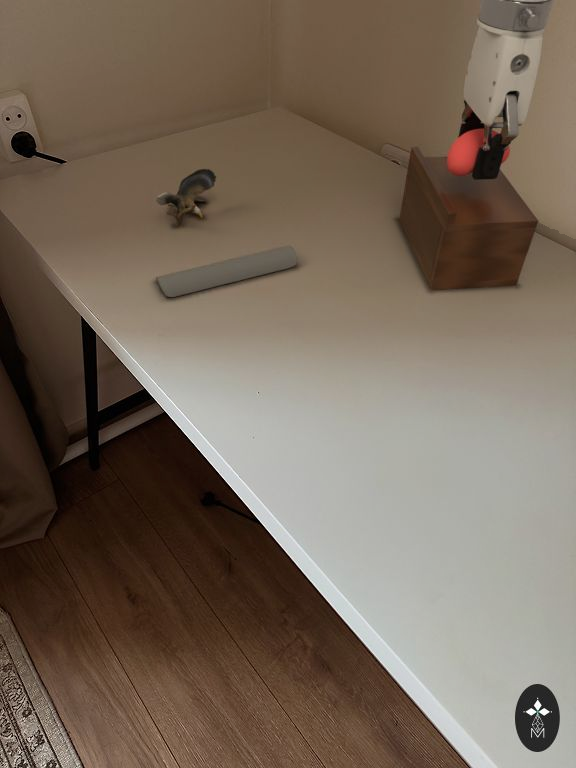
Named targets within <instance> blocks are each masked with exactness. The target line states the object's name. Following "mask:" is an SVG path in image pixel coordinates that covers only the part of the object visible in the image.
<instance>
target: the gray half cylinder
mask: <svg viewBox="0 0 576 768" xmlns="http://www.w3.org/2000/svg"><path fill="white" fill-rule="evenodd" d="M297 263H298V255H297V252H296V249H295V248H294V246H293V245H285V246H281V247H276V248H272V249H268V250H264V251H263V250H262V251H259V252H256V253H255V252H254V253H251V254H247V255H242V256H239V257H234V258H231V259H230V258H229V259H226V260H222V261H218V262H213V263H209V264H206V265H201V266H197V267H192V268H189V269H185V270H179V271H176V272H171V273H167V274H163V275H159V276H155V279H156V281H157V284H158V285H159V287H160V289H161V291H162V292H163V294H164V295H165V296H166V297H168V298H175V297H179V296H184V295H187V294H192V293H195V292H199V291H203V290H207V289H211V288H215V287H219V286H223V285H227V284H230V283H234V282H235V283H236V282H238V281H243V280H247V279H251V278H254V277H258V276H262V275H266V274H271V273H274V272H279V271H283V270H287V269H291V268H293V267H295V266H297Z"/></svg>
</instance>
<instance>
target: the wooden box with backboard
mask: <svg viewBox="0 0 576 768" xmlns="http://www.w3.org/2000/svg"><path fill="white" fill-rule="evenodd" d="M472 173H473V172H472ZM472 173H470V174H468V175H465V176H455V175H453V174H452V173H451V172H450V171H449V169H448V166H447V156H424V154H423V153H422V151H421V149H420V147H419V146H411V148H410V154H409V158H408V165H407V171H406V176H405V181H404V187H403V194H402V200H401V206H400V211H399V218H398V220H399V222H400V224H401V227H402V228H403V231H404V233H405V236H406V238H407V240H408V242H409V244H410V246H411V249H412V250H413V253H414V255H415V258H416V260H417V261H418V263H419V266H420V268H421V271H422V273H423V274H424V276H425V279H426V281H427V283H428V285H429V287H430V290H432V291H433V290H434V291H435V290H453V289H454V290H455V289H472V288H473V289H475V288H490V287H508V286H517V284H518V282H519V281H518V280H519V278H520V275H521V272H522V269H523V267H524V263H525V261H526V258H527V255H528V252H529V249H530V246H531V244H532V241H533V238H534V235H535V232H536V229H537V226H538V224H539V219H538V218H537V217H536V215H535V214H534V213H533V211H532V210H531V208H530V207H529V206H528V204H527V203H526V202H525V200H524V199H523V197H521V195H520V194H519V192H518V191H517V190H516V189H515V187H514V186H513V185H512V183H511V182H510V180H509V179H508V177H507V176H506V174H504V173H503V171H502V170H501V168H500V169H499V173H498V176H497V178H496V179H481V180H475V179H473V177H472Z"/></svg>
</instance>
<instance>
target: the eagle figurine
mask: <svg viewBox="0 0 576 768" xmlns="http://www.w3.org/2000/svg"><path fill="white" fill-rule="evenodd" d="M216 180H217V176H216V174H215V172H214V171H213V170H211V169H210V168H199V169H197V170H195V171H194V172H192V173H190V174H189V175H186V177H184V178H183V179H182V180H181V181H180V183H179V186H178V190H177V193H176V194H172V193H171V192H169V191H167V192H163V193H162V194H159V195H158V196H156V197H155V199H156V200H155V202H156V203H157V204H158V205H160V206H166V205H167V206H168V207H171V208H172V209H173V211H172V212H167V215H168V216H174V218H175V222H174V223H175V227H177V228H178V226H179V225H180V224H181V223H182V222H183V220H184V217H185V215H186V214H187V213H193V214H194V215H197V216H199V217H200V218H201V219H203V214H202V210H201V209H200V208H199V207H198V206H197V205H196V204H195V202H206V200H205V199H203V198H201V197H197V196H199V195H202V194H204V193H205V192H206V191H209V190H211V189H212V188H213V187H214V186H215V183H216Z"/></svg>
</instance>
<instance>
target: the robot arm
mask: <svg viewBox="0 0 576 768" xmlns="http://www.w3.org/2000/svg"><path fill="white" fill-rule="evenodd" d="M553 4H554V0H481V1H480V5H479V9H478V15H477V19H476V25H477V26H478V30H477V32H476V36H475V38H474V39H475V40H474V42H473V46H472V50H471V54H470V57H469V61H468V65H467V68H466V72H465V73H466V74H465V78H464V84H463V92H462V94H463V103H464V109H463V111H462V114H461V123H460V128H459V133H458V136H457V138H459V137H460V136H462V135H463V134H464V133H466V132H468V131H471V130H475V129H484V137H483V147H479V150H478V154H477V157H476V161H475V165H474V169H473V173H472V177H473V179H475V180H481V179H496V178H497V176H498V173H499V169H500V170H501V166H502V164H501V162H502V159H503V155H504V152H505V151H506V150H507V148H508V145H509V146H510V145H511V143H512V141H514V140H515V139H516V138H518V135H519V134H520V133H519V131H520V130H519V127H521V126H523V125H524V124H525V122H526V119H527V116H528V113H529V110H530V109H529V108H530V106H531V101H532V97H533V93H534V89H535V85H536V80H537V77H538V71H539V68H540V67H539V66H540V61H541V55H542V49H543V39H544V36H543V35H542V34H544V33H545V31H546V28H547V24H548V21H549V18H550V14H551V12H552V11H551V10H552V8H553V7H552V6H553ZM495 118H502V121H501V122H500V121H499V122H495ZM493 129H501V130H500V132H499V133H500V134H496V135H495V136H494V137H493V138H492V130H493Z"/></svg>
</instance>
